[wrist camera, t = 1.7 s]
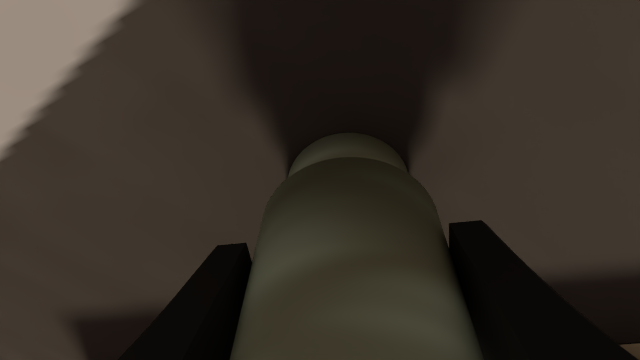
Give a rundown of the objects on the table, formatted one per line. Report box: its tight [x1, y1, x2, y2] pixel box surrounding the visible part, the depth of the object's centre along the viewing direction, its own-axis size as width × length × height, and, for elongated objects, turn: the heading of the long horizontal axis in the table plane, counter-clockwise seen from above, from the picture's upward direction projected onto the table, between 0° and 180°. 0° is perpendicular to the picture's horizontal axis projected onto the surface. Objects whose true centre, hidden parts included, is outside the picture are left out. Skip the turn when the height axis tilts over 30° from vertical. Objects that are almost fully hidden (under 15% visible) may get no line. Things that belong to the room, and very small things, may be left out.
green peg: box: [230, 133, 484, 360], centre depth 9 cm, size 4×4×8 cm
